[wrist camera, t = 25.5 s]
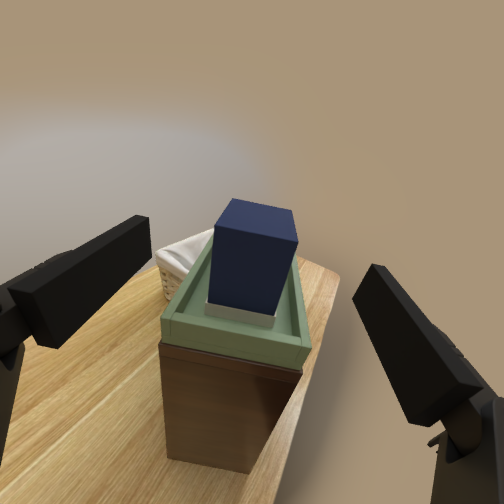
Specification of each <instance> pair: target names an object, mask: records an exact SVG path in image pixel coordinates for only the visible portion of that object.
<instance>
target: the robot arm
mask: <svg viewBox="0 0 504 504" xmlns="http://www.w3.org/2000/svg"><path fill="white" fill-rule="evenodd" d="M151 258H152V251H151V239H150V225H149V217H144V216H140V215H135V216H133V217H131V218H129V219H127V220H126V221H124V222H122V223H120V224H119V225H117V226H115V227H113V228H112V229H110V230H108V231H106V232H105V233H103V234H101V235H99V236H97V237H96V238H94V239H92V240H90V241H89V242H87V243H85V244H83V245H82V246H80V247H78V248H76V249H74V250H70V251H67V252H64V253H60V254H57V255H55V256H53V257H52V258H50V259H48V260H46V261H45V262H44V263H40V264H39V265H37V266H35V267H34V269H32V268H31V269H29V270H28V271H26V272H24V273H22V274H20V275H18V276H17V277H15V278H13V279H11V280H9V281H7V282H6V283H4V284H2V285H0V466H1V461H2V456H3V452H4V447H5V442H6V438H7V433H8V428H9V423H10V419H11V414H12V409H13V404H14V400H15V395H16V390H17V385H18V381H19V376H20V371H21V366H22V362H23V357H24V352H25V345H24V343H23V341H25V340H26V339H27V338H28V337H29V336H31V335H32V336H33V337H34V339H35V341H36V343H37V345H40V346H45V347H49V348H54V349H59V348H60V347H61V346H62V345H63V344H64V343H65V342H66V341H67V340H68V339H69V338H70V337H71V336H72V335H73V334H74V333H75V332H76V331H77V330H78V329H79V328H80V327H81V326H82V325H83V324H84V323H85V322H86V321H87V320H88V319H89V318H90V317H92V316H93V315H94V314H95V313H96V312H97V311H98V310H99V309H100V308H101V307H102V306H103V305H104V304H105V303H106V302H107V301H108V300H109V299H110V298H111V297H112V296H113V295H114V294H115V293H116V292H117V291H118V290H119V289H120V288H121V287H122V286H123V285H124V284H125V283H126V282H127V281H128V280H129V279H130V278H131V277H132V276H133V275H134V274H135V273H136V272H137V271H138V270H140V269H141V267H143V266H144V265H145V264H146V263H147V262H148V261H149V260H150V259H151ZM352 300H353V302H354V304H355V307H356V309H357V311H358V313H359V315H360V318H361V320H362V322H363V324H364V326H365V329H366V331H367V333H368V335H369V337H370V339H371V342H372V344H373V346H374V348H375V350H376V353H377V354H378V357H379V359H380V361H381V363H382V366H383V368H384V370H385V372H386V374H387V377H388V379H389V381H390V383H391V386H392V388H393V390H394V392H395V394H396V397H397V399H398V401H399V403H400V405H401V407H402V410H403V412H404V414H405V416H406V418H407V421H408V423H411V424H415V425H420V426H425V427H431V426H432V425H433V424H435V423H436V422H438V421H439V420H441V422H442V423H443V425H444V427H445V429H446V430H445V431H444V432H442V433H440V434H439V435H437V436H436V437H434V438H433V439H432V440H430V441H429V442H428V444H427V445H428V446H429V447H432V446H434V445H436V444H439V447H438V451H436V453H437V454H438V455H437V461H436V469H435V476H434V483H433V489H432V496H431V503H430V504H504V398H502V397H498V396H497V395H496V393H495V392H494V391H493V390H492V389H491V387H490V386H489V385H488V384H487V383H486V381H485V380H484V379H483V378H482V377H481V375H479V373H478V372H477V371H476V370H475V369H474V367H473V366H472V365H471V364H470V363H469V361H468V360H467V359H466V358H464V355H463V354H462V353H461V352H460V351H459V349H457V348H456V346H455V345H454V344H453V342H452V341H451V340H450V339H449V338H448V336H447V335H446V334H444V333H443V332H442V331H441V330H440V329H438V328H437V327H436V326H435V325H433V324H432V323H431V322H430V321H429V320H428V318H427V317H426V316H425V315H424V313H422V311H421V310H420V309H419V308H418V306H417V305H416V304H415V302H414V301H413V300H412V299H411V298H410V296H409V295H408V294H407V293H406V291H405V290H404V289H403V288H402V287H401V285H400V284H399V283H398V282H397V280H396V279H395V278H394V277H393V276H392V275H391V273H390V272H389V271H388V269H387V268H386V267H385V266H381V265H376V264H371V266H370V268H369V269H368V271H367V273H366V275H365V277H364V278H363V280H362V282H361V284H360V285H359V287H358V289H357V291H356V293H355V294H354V296H353V298H352Z"/></svg>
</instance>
